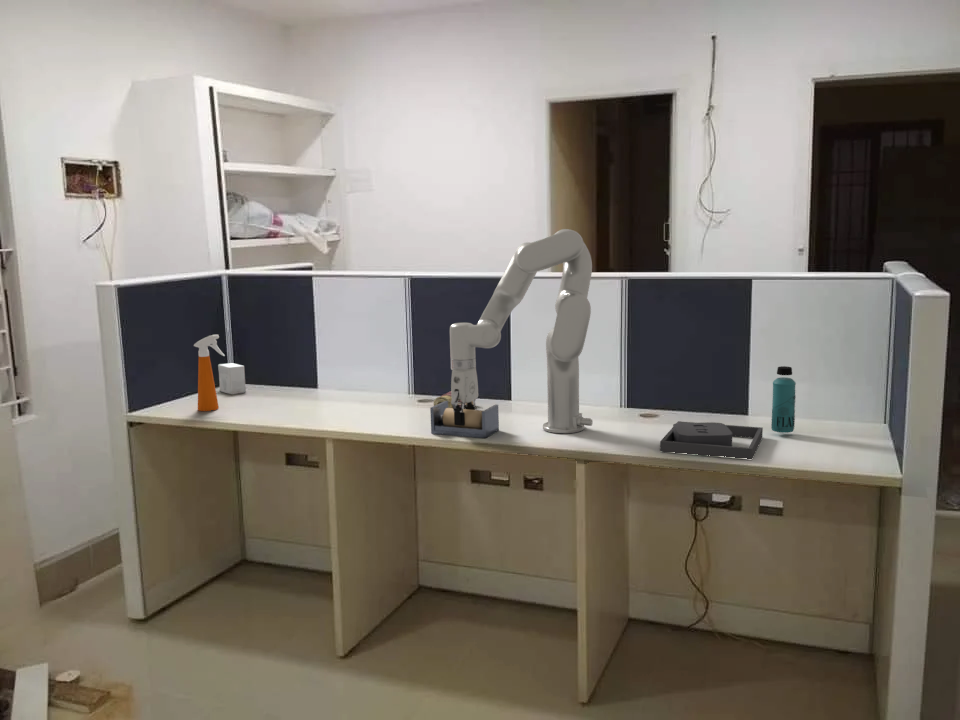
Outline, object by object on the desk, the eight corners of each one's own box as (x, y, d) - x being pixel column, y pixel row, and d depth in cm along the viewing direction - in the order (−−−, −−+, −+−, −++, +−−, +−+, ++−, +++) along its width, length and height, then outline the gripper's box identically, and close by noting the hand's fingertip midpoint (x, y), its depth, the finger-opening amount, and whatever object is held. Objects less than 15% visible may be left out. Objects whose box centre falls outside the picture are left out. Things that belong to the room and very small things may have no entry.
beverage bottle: (773, 437, 246) (775, 368, 243) (768, 432, 253) (770, 364, 250) (796, 438, 246) (799, 368, 242) (791, 432, 252) (794, 364, 249)
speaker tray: (762, 437, 247) (762, 427, 246) (751, 460, 225) (752, 449, 225) (677, 431, 257) (678, 421, 256) (660, 452, 235) (660, 441, 235)
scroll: (455, 414, 280) (480, 401, 298) (446, 393, 280) (471, 381, 298) (437, 422, 283) (462, 409, 301) (427, 401, 283) (453, 389, 301)
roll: (487, 427, 262) (486, 408, 261) (479, 432, 257) (478, 413, 256) (451, 424, 267) (450, 405, 266) (443, 429, 262) (442, 410, 261)
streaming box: (671, 440, 248) (671, 422, 247) (722, 439, 247) (723, 422, 246) (679, 454, 233) (680, 435, 233) (734, 453, 233) (734, 435, 232)
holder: (498, 430, 263) (498, 404, 262) (485, 438, 254) (485, 411, 253) (445, 425, 270) (445, 400, 269) (431, 433, 261) (430, 407, 260)
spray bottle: (225, 410, 299) (220, 335, 295) (194, 411, 299) (188, 336, 295) (231, 406, 306) (226, 332, 302) (201, 407, 306) (195, 333, 302)
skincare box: (246, 392, 331) (244, 365, 329) (230, 394, 327) (228, 367, 325) (235, 388, 339) (233, 362, 337) (219, 391, 335) (217, 364, 333)
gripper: (462, 369, 249) (464, 429, 252) (486, 360, 265) (487, 416, 268) (438, 368, 252) (441, 428, 255) (464, 358, 268) (465, 415, 271)
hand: (464, 421), depth 262 cm, fingers open, 6 cm apart
